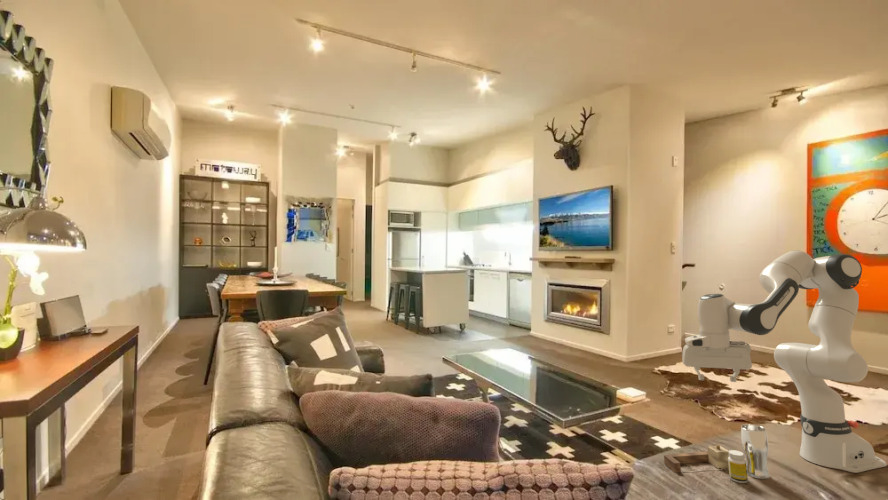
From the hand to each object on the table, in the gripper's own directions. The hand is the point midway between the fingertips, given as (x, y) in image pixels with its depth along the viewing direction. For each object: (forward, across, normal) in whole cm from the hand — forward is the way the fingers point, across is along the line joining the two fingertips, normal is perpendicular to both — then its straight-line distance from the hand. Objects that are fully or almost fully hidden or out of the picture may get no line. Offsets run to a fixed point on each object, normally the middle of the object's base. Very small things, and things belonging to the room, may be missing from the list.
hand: (717, 380), depth 140 cm
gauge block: (+29, +1, 0) cm, 29 cm away
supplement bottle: (+29, -2, +10) cm, 30 cm away
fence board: (+29, +8, +2) cm, 30 cm away
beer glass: (+29, -8, +5) cm, 30 cm away
